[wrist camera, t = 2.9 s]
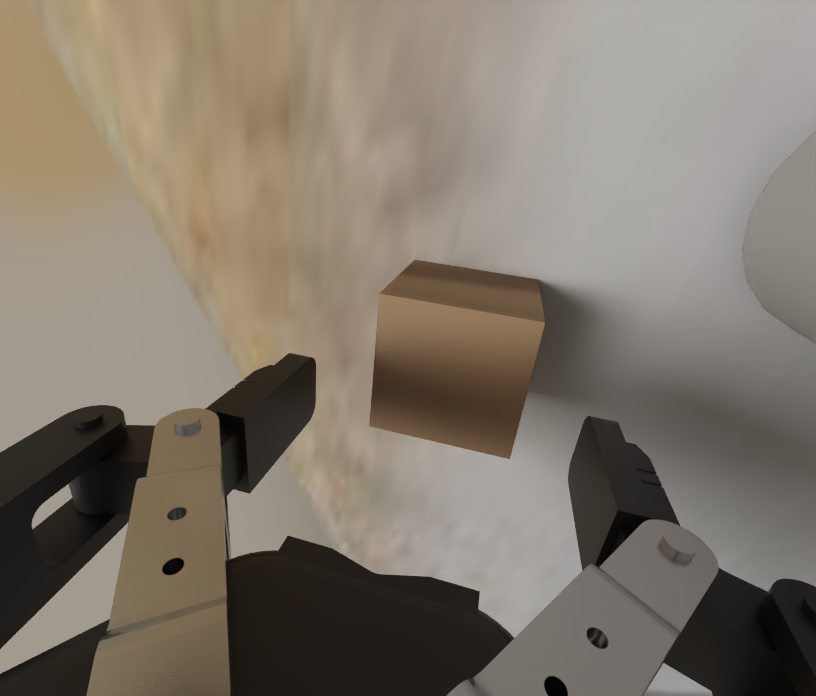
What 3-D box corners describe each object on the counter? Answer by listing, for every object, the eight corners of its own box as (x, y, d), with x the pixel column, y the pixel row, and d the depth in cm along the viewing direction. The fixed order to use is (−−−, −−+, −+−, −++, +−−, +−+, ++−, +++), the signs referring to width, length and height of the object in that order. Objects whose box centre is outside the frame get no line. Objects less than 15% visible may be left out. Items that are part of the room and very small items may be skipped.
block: (415, 259, 17) (379, 293, 13) (538, 279, 16) (545, 322, 12) (403, 365, 19) (369, 426, 15) (512, 387, 19) (509, 458, 14)
